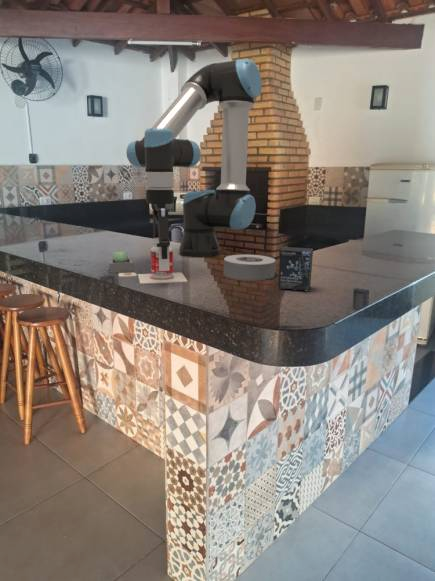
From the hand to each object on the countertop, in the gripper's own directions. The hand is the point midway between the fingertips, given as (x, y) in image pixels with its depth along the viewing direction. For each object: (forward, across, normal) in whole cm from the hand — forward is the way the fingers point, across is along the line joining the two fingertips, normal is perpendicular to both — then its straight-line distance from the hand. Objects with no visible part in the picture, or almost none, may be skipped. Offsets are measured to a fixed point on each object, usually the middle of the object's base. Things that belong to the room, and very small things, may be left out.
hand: (161, 265), depth 125 cm
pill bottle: (+4, 0, 0) cm, 4 cm away
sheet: (+4, 0, 0) cm, 4 cm away
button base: (+4, -13, -11) cm, 17 cm away
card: (+4, -6, -10) cm, 12 cm away
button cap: (+2, -13, -11) cm, 17 cm away
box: (+4, +18, +33) cm, 38 cm away
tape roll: (+4, 0, +26) cm, 26 cm away
